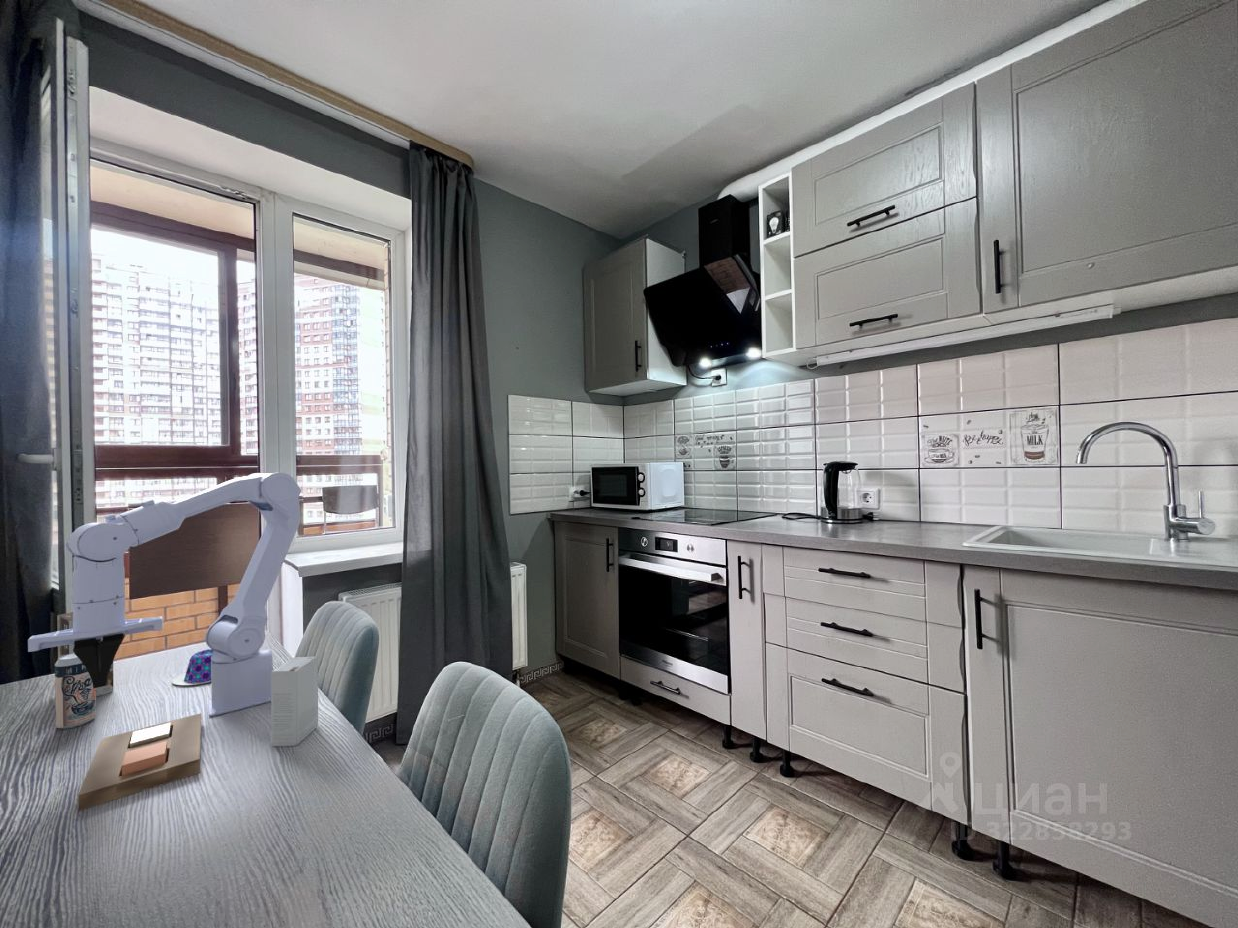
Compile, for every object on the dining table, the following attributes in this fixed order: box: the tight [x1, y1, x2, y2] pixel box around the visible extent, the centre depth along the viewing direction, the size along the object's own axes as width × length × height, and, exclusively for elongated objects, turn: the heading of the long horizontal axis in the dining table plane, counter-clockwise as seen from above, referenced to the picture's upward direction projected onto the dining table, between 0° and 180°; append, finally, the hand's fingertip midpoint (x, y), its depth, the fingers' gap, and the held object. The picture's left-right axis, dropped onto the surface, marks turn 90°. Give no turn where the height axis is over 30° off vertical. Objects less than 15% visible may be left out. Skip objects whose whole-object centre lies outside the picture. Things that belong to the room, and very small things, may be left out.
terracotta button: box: [122, 741, 167, 776], centre depth 71 cm, size 4×4×2 cm
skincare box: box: [270, 656, 319, 747], centre depth 81 cm, size 6×4×12 cm
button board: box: [77, 712, 202, 812], centre depth 75 cm, size 12×18×2 cm, turn 40°
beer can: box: [54, 653, 97, 730], centre depth 87 cm, size 5×5×12 cm
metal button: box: [130, 723, 171, 748], centre depth 78 cm, size 4×4×2 cm
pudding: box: [171, 648, 213, 686], centre depth 107 cm, size 12×12×5 cm
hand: (100, 685), depth 78 cm, fingers closed
